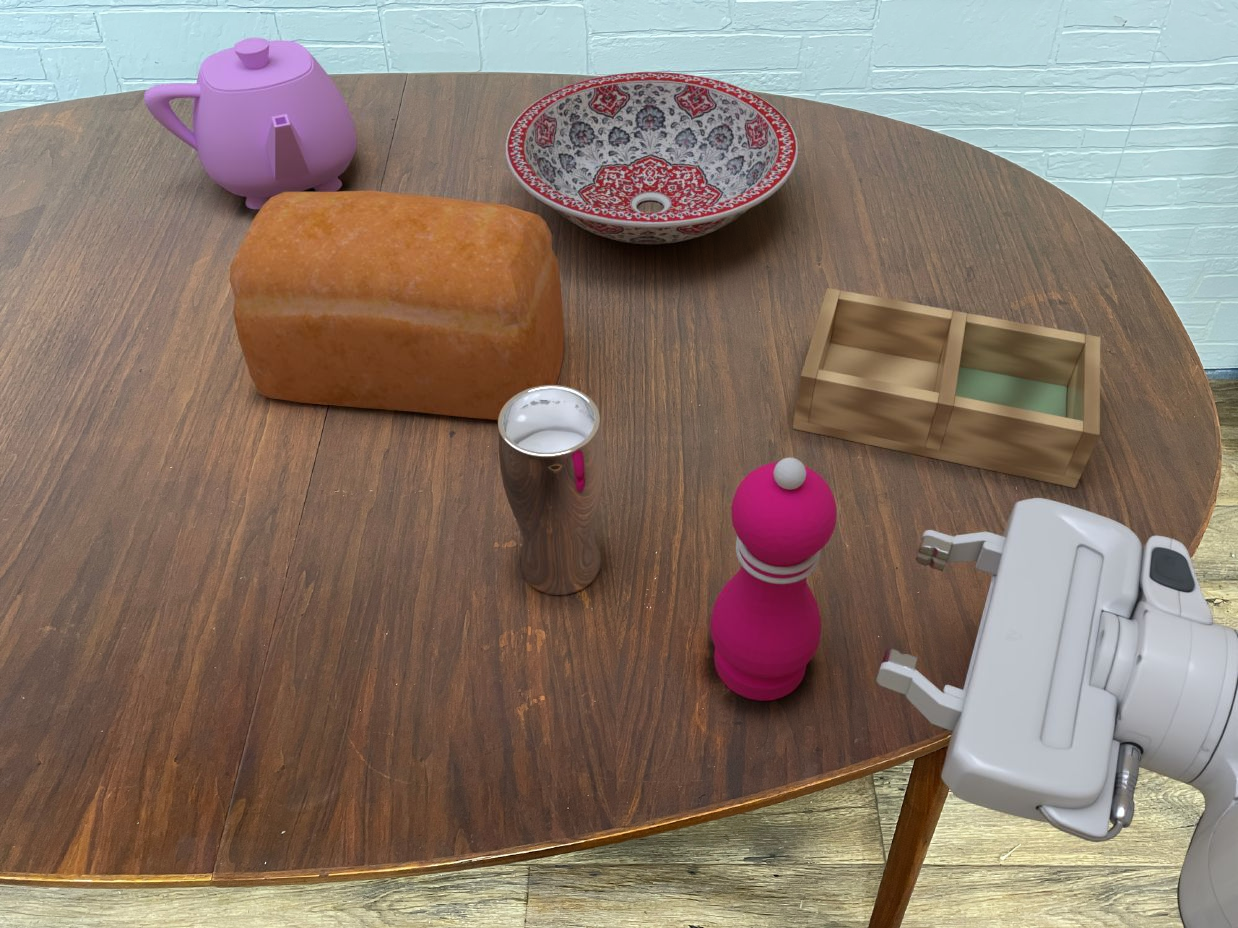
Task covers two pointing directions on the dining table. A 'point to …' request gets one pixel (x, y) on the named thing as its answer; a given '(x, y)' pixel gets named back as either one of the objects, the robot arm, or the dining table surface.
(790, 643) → the pepper mill
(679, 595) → the dining table surface
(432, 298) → the bread
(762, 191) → the ceramic bowl
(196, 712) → the dining table surface
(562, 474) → the metal cup
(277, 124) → the teapot
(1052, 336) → the divided wooden box
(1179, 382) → the dining table surface
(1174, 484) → the dining table surface
